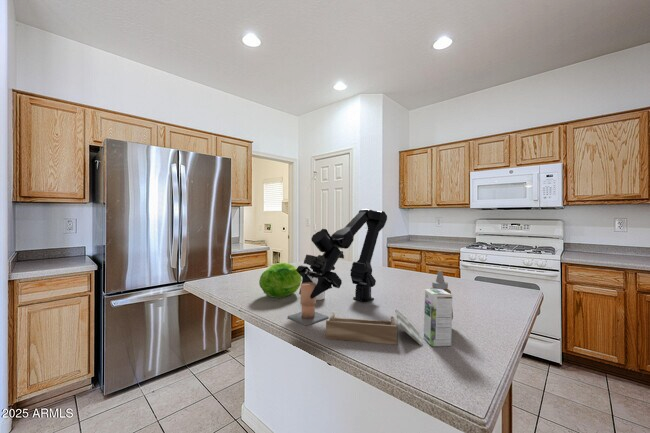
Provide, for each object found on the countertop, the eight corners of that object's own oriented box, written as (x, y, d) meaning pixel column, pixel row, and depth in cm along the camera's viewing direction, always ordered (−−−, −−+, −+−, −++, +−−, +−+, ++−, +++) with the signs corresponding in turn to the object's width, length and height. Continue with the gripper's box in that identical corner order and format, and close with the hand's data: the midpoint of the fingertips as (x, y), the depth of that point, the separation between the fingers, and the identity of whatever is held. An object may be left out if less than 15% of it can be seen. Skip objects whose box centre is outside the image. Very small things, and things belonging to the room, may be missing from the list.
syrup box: (422, 337, 83) (423, 288, 83) (442, 337, 84) (442, 288, 84) (431, 347, 78) (432, 294, 77) (452, 346, 78) (453, 293, 78)
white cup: (324, 301, 117) (324, 277, 117) (305, 300, 118) (305, 276, 118) (327, 295, 125) (327, 273, 124) (310, 294, 126) (310, 272, 126)
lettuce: (281, 285, 138) (308, 293, 131) (248, 297, 118) (278, 308, 111) (284, 255, 137) (312, 263, 130) (251, 262, 117) (282, 271, 110)
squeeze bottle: (440, 333, 86) (441, 274, 86) (420, 324, 93) (421, 269, 93) (458, 329, 90) (459, 272, 90) (438, 320, 97) (438, 267, 97)
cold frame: (332, 321, 96) (332, 304, 96) (415, 327, 92) (415, 309, 92) (325, 339, 82) (326, 320, 82) (423, 347, 78) (423, 327, 78)
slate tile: (309, 310, 105) (309, 309, 105) (328, 317, 98) (328, 316, 98) (287, 317, 98) (287, 316, 98) (306, 325, 91) (306, 324, 91)
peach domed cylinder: (315, 312, 101) (315, 282, 101) (316, 318, 96) (316, 286, 96) (300, 313, 101) (300, 282, 101) (300, 318, 95) (300, 286, 95)
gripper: (300, 243, 107) (275, 277, 100) (336, 248, 94) (311, 288, 87) (315, 262, 113) (293, 295, 105) (351, 269, 100) (329, 307, 92)
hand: (305, 296), depth 97 cm, fingers closed on peach domed cylinder, 5 cm apart
